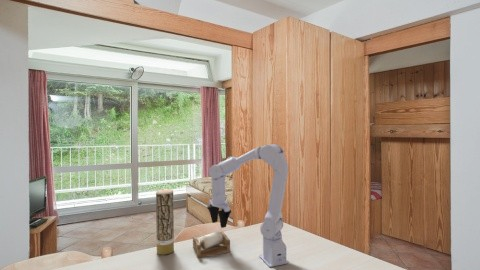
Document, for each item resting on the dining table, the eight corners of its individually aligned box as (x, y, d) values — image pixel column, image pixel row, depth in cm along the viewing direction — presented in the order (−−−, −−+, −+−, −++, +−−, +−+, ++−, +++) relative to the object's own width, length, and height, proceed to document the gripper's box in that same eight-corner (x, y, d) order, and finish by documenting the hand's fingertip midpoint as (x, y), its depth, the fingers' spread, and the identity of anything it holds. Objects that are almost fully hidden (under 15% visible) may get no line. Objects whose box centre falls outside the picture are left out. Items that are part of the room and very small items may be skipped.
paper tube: (169, 256, 103) (168, 193, 103) (153, 254, 104) (152, 192, 104) (176, 248, 110) (176, 189, 110) (161, 247, 111) (161, 189, 111)
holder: (230, 252, 106) (230, 240, 106) (197, 258, 101) (197, 245, 101) (223, 242, 115) (223, 231, 115) (192, 247, 111) (192, 236, 111)
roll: (222, 245, 110) (223, 234, 109) (205, 251, 104) (206, 239, 103) (215, 240, 113) (216, 229, 113) (199, 245, 108) (200, 234, 107)
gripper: (235, 194, 107) (236, 227, 107) (218, 188, 119) (218, 218, 119) (220, 196, 103) (221, 231, 103) (204, 190, 115) (204, 221, 115)
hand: (219, 224), depth 110 cm, fingers open, 7 cm apart
